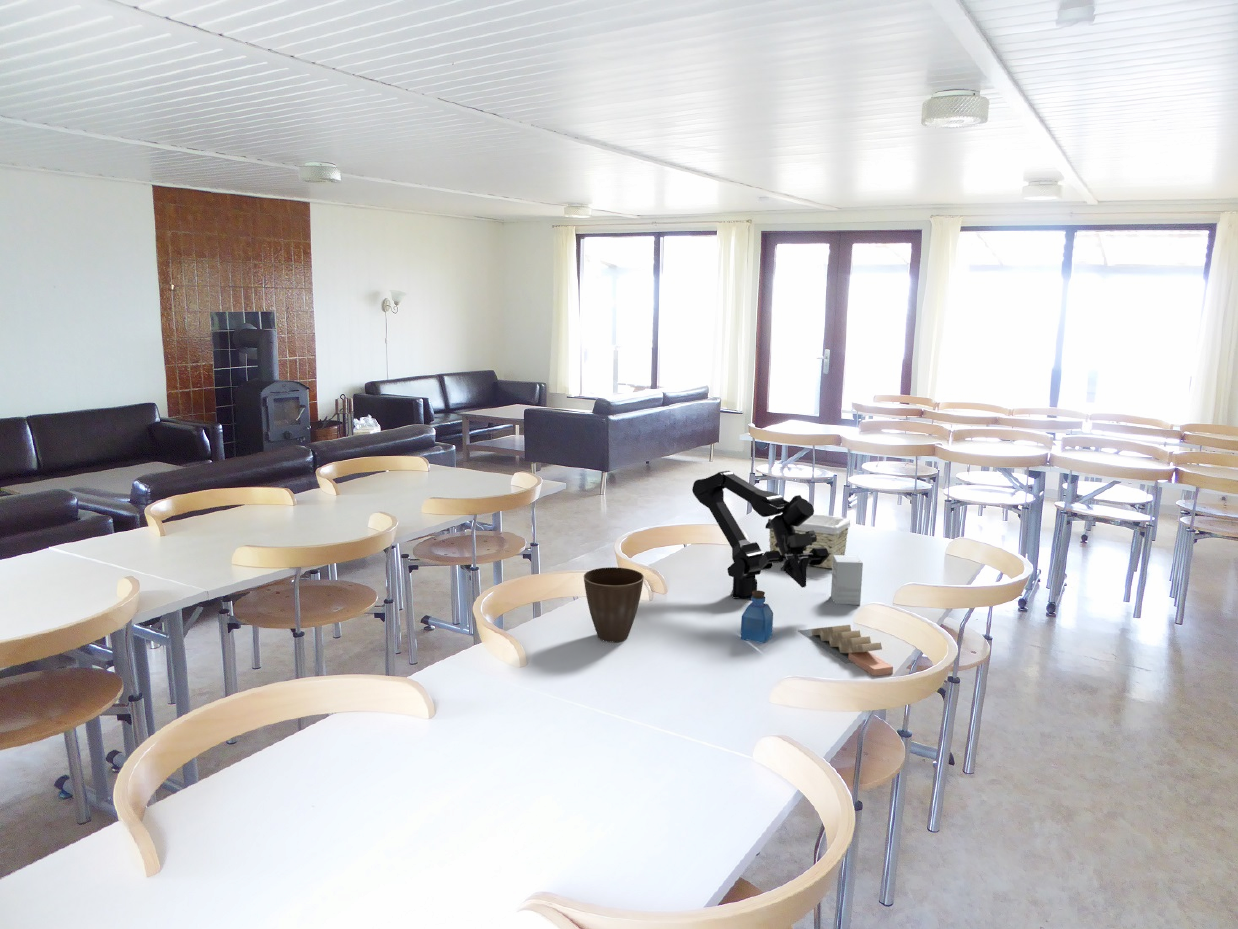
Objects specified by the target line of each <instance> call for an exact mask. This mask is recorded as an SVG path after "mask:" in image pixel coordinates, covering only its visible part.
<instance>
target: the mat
mask: <svg viewBox="0 0 1238 929" xmlns="http://www.w3.org/2000/svg"><path fill="white" fill-rule="evenodd" d="M825 627H826V626H825ZM825 627H823V628H825ZM817 628H818V627H817ZM817 628H814V629H817ZM812 629H813V628H808V629H801V630H797V632H798V633H800V634H801V635H803V636H804V637H805V638H807V639H808V640H810V641H812V642H813V643H814V644H816V645H817V646H819V647H820V648H821V649H823V650H825V651H826V652H828V653H829V654H831V655H832V656H834V657H835V658H837V659H839V660H840V661H842V662H843V663H845V664H855V663H854V662H852V661H851V660H849V659H848V658H849V653H840V651H839V647H830V643H829V641H821V637H820V635H812Z"/></svg>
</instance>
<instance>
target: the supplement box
mask: <svg viewBox="0 0 1238 929" xmlns="http://www.w3.org/2000/svg"><path fill="white" fill-rule="evenodd" d="M863 567H864V564H863V561H862V559H861V558H860V557H859V556H858V555H846V554H845V555H833V567H832V568H831V570H832V572H831V585H830V586H831V588H830V597H831V598H832V601H833V603H834V604H837V605H838V604H839V605H841V604H842V605H850V606H851V605H855V606H860V605H861V598H862V585H863V584H862V582H863Z"/></svg>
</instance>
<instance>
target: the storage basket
mask: <svg viewBox="0 0 1238 929" xmlns="http://www.w3.org/2000/svg"><path fill="white" fill-rule="evenodd" d="M781 514H782V513H781ZM781 514H778V515H781ZM775 516H777V515H773V516H768V519H773V518H774V517H775ZM850 527H851V520H850V518H849V517H841V516H833V515H827V514H818V513H814V514H813V515H812V516H811V517H810V518H808V519H807V520H806V521H805V522H804V523H802V524H801V525H800V526H798V527H796V526H794V529H795V531H796V533H799V534H805V533H806V532H807V531H812V530H814V532H815V534H816V537H817V541H816V542H814V543H812V545H811V546H810V545H809V546H806V547H807V549H806V550H805V551H803V553H809V552H810V551H811V550H812V549H813V548H818V547H825V548H827V550H828V552H829V556H828V558H827V559H826V560H825V561H824V562H823V563H822V564H821V565H815V566H814V567H817V568H826V569H832V567H833V555H845V556H846V549H847V539H848V534H849V528H850ZM768 542H769V549H770V550H769V551H779V552H780V550H779V547H776V546H775V544H776V542H777V541H776V538H775V535H774V533H773V530H772V529H769V541H768ZM780 554H781V552H780ZM808 566H810V565H809V564H808V565H807V567H808ZM810 567H811V566H810Z"/></svg>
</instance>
